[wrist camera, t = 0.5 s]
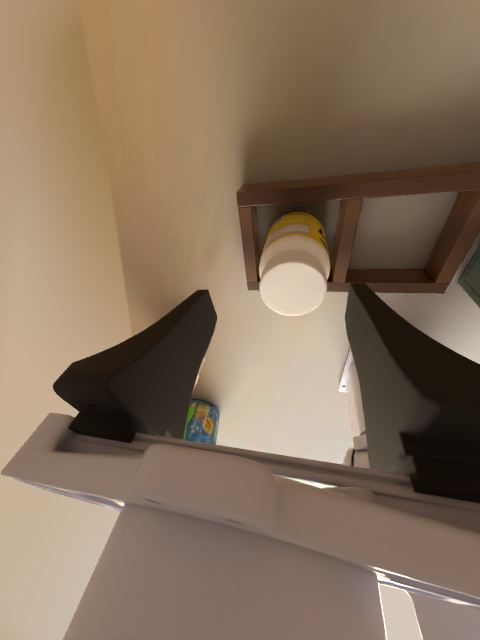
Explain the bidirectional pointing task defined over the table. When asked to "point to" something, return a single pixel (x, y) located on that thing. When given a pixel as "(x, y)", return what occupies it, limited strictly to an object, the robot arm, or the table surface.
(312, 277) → the supplement bottle
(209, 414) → the snack cup
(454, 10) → the table surface
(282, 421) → the table surface
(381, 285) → the frame
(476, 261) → the tray
